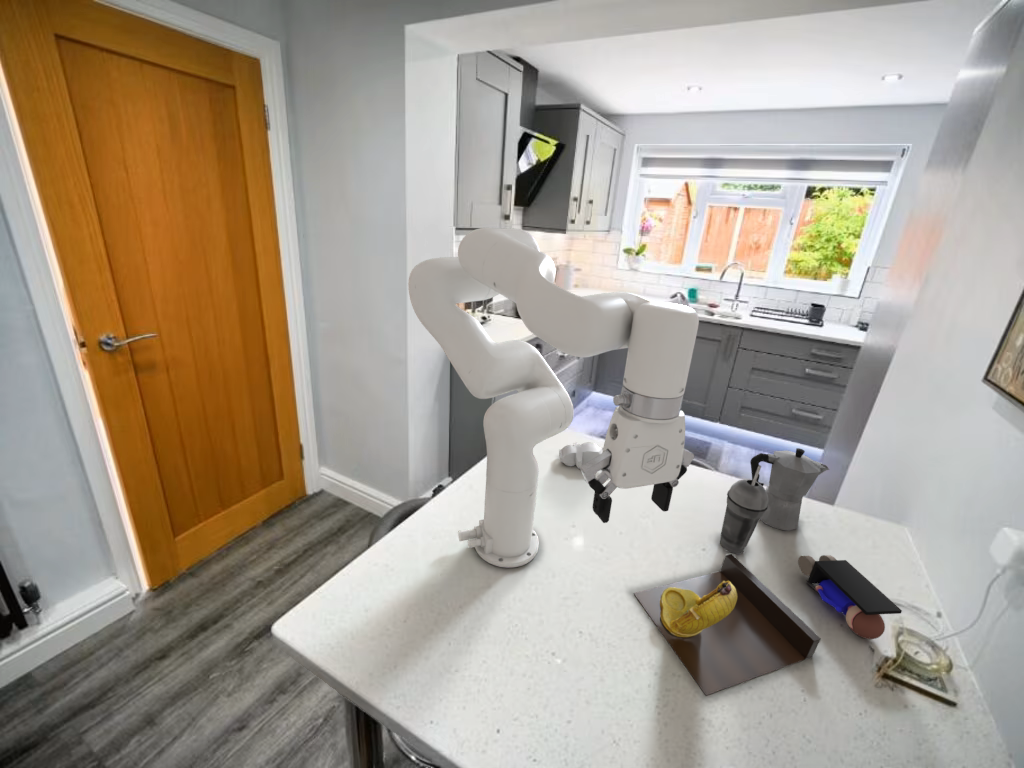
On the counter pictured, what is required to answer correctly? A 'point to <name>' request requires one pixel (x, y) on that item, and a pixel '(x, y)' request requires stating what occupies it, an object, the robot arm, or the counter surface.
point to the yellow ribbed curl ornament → (695, 609)
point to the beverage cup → (743, 513)
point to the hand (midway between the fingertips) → (630, 510)
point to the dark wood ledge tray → (736, 631)
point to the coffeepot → (786, 485)
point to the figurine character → (849, 594)
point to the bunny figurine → (579, 453)
